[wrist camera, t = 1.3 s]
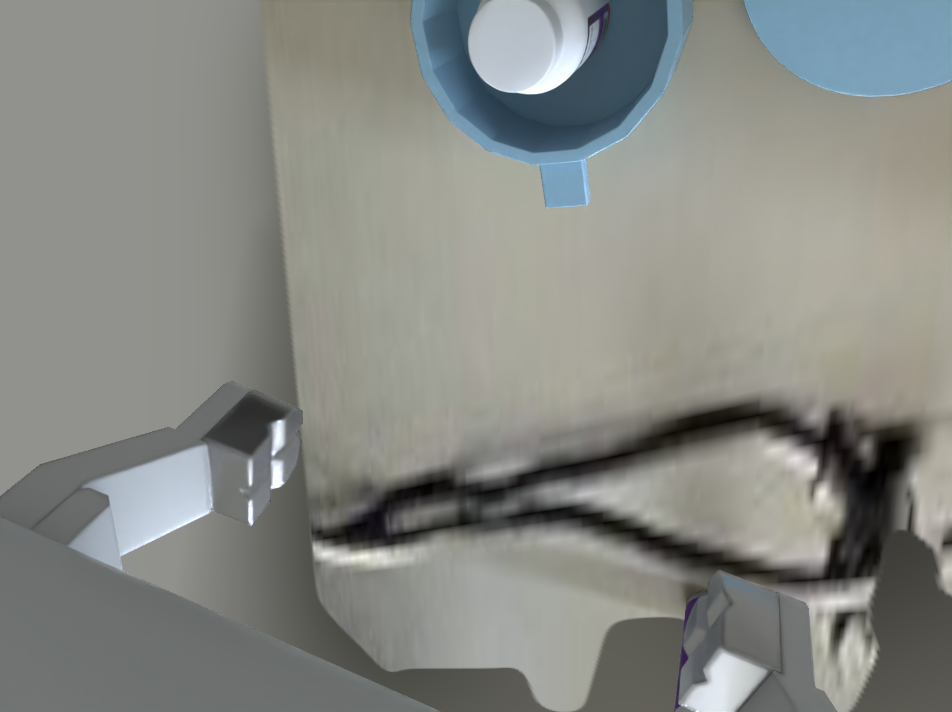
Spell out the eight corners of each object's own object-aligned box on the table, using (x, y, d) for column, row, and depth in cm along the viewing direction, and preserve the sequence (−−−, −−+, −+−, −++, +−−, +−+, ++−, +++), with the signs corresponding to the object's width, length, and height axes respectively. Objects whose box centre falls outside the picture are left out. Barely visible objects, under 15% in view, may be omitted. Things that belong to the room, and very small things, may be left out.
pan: (685, -248, 31) (672, -268, 27) (698, 171, 40) (689, 203, 36) (414, -167, 36) (368, -173, 32) (481, 188, 45) (452, 219, 41)
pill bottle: (498, -14, 38) (431, 11, 30) (589, -67, 35) (539, -53, 28) (539, 81, 40) (485, 128, 32) (628, 39, 37) (592, 79, 30)
